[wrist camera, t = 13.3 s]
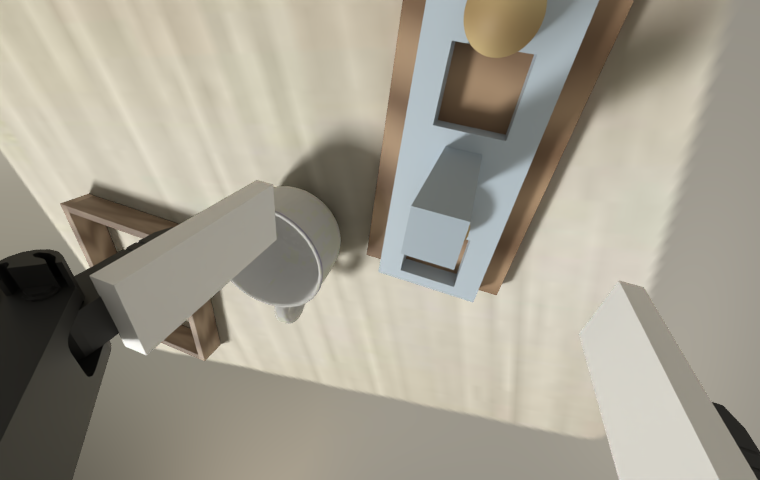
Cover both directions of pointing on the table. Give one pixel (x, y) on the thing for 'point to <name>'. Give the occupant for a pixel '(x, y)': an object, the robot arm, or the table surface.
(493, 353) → the table surface
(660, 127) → the table surface
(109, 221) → the open brown wooden frame
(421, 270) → the blue post stand
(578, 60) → the boss board
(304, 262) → the teacup
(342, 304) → the table surface
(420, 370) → the table surface
